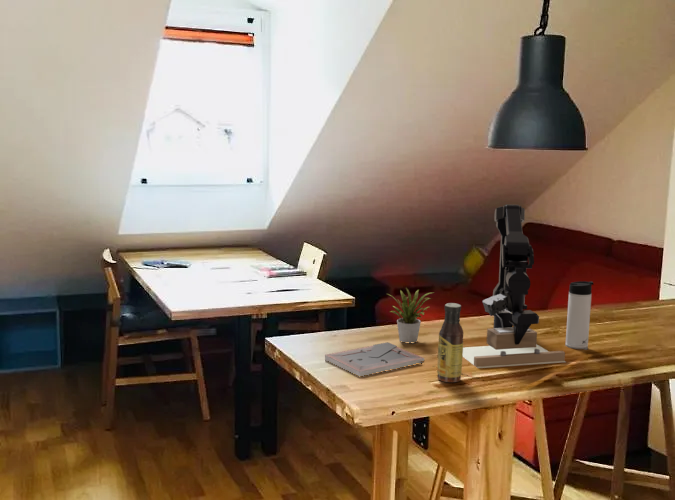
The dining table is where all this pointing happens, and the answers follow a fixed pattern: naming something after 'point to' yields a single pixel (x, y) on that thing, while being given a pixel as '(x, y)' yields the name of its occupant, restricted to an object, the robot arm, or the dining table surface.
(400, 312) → the house plant
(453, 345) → the sauce bottle
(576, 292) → the travel mug
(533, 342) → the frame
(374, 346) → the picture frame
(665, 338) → the dining table surface
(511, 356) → the wall board
